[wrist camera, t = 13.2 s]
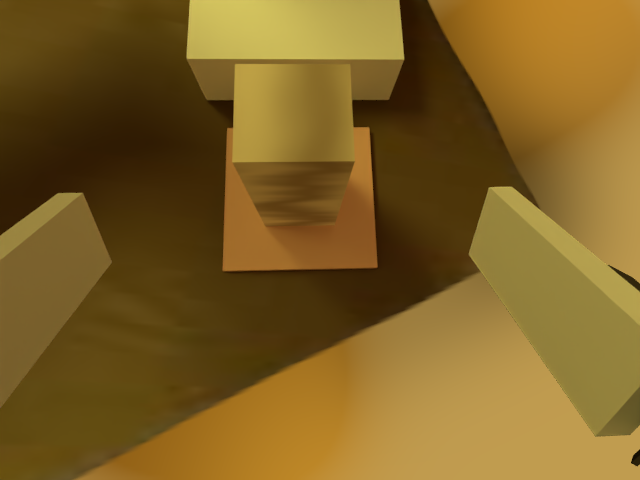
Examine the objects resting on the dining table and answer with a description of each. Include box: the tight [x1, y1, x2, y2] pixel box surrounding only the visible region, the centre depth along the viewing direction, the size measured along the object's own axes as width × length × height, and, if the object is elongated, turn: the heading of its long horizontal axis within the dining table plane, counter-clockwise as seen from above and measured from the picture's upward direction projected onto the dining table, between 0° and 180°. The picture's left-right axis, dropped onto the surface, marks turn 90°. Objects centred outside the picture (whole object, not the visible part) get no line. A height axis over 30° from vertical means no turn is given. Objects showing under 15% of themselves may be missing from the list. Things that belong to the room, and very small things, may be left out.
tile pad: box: [223, 127, 378, 272], centre depth 28 cm, size 12×12×1 cm
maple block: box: [232, 64, 355, 226], centre depth 22 cm, size 6×5×12 cm
